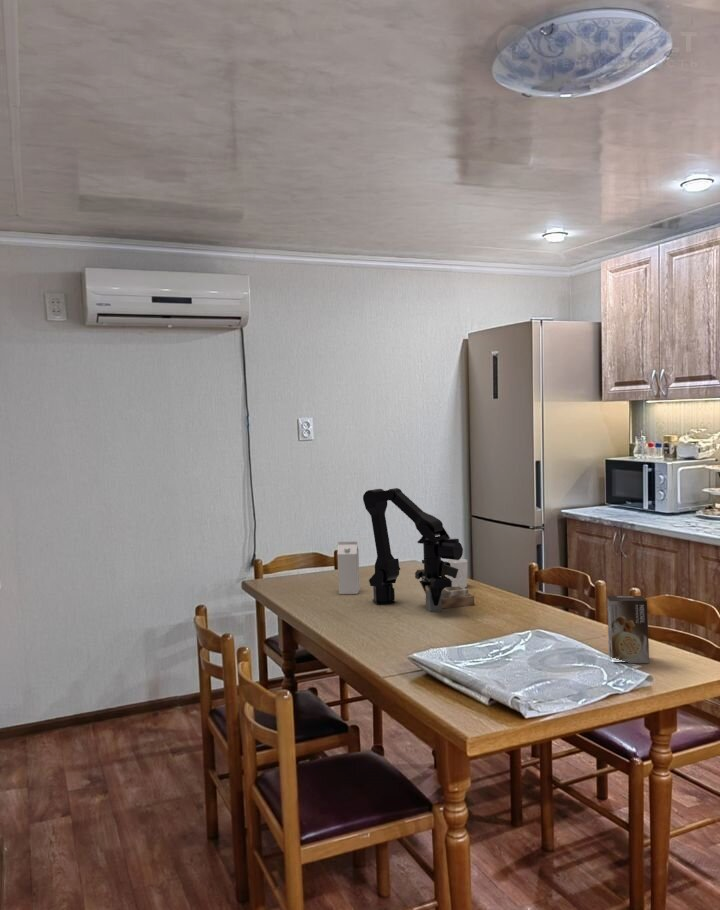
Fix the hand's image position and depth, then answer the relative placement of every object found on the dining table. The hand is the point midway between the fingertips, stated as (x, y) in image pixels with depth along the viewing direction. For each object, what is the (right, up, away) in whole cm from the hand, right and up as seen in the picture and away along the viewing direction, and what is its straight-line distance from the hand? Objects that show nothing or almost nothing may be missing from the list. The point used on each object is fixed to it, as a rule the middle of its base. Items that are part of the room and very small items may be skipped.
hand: (433, 604), depth 253 cm
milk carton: (-28, -2, +31) cm, 42 cm away
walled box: (+7, -1, +9) cm, 11 cm away
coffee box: (+44, -3, -58) cm, 73 cm away
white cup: (+12, 0, +34) cm, 36 cm away
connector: (0, -2, 0) cm, 2 cm away
